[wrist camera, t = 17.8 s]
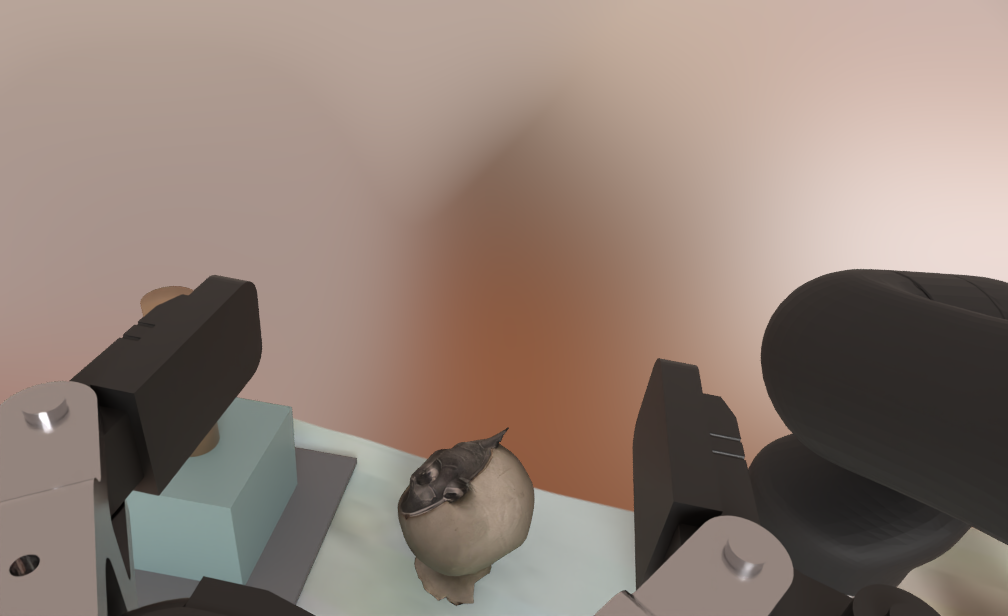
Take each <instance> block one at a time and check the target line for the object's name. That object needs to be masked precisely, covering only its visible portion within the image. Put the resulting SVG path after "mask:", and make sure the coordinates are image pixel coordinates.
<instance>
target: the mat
mask: <svg viewBox="0 0 1008 616" xmlns="http://www.w3.org/2000/svg"><path fill="white" fill-rule="evenodd" d="M295 456H296V470H297V483H298V484H297V486H296V488H295V490H294V492H293V494H292V496H291V497H290V499H289V501H288V503H287V505H286V507H285V509H284V511H283V513H282V515H281V517H280V519H279V521H278V523H277V525H276V527H275V528H274V530H273V532H272V534H271V536H270V538H269V540H268V542H267V544H266V546H265V548H264V550H263V552H262V554H261V556H260V558H259V560H258V561H257V563H256V565H255V567H254V569H253V571H252V573H251V575H250V577H249V579H248V581H247V583H246V586H251V587H255V588H260V589H264V590H268V591H270V592H272V593H274V594H276V595H278V596H280V597H282V598H283V599H285V600H287V601H289V602H291V603H293V604H295V605H296V603H297V600H298V598H299V596H300V593H301V591H302V589H303V587H304V584H305V582H306V580H307V577H308V575H309V573H310V570H311V568H312V566H313V563H314V561H315V559H316V556H317V554H318V552H319V549H320V547H321V545H322V542H323V540H324V538H325V536H326V533H327V531H328V529H329V526H330V524H331V522H332V519H333V517H334V515H335V512H336V510H337V508H338V505H339V503H340V501H341V498H342V496H343V494H344V492H345V489H346V487H347V485H348V482H349V480H350V478H351V475H352V473H353V471H354V468H355V466H356V464H357V458H352V457H346V456H341V455H335V454H330V453H324V452H319V451H313V450H307V449H302V448H296V447H295ZM134 570H135V581H136V592H137V600H138V606H139V608H140V607H143V606H145V605H149V604H153V603H157V602H161V601H165V600H172V599H178V598H190V597H191V595H192V593H193V592H194V590H195V589H196V587H197V585H198V584H199V582H200V581H198V580H193V579H187V578H182V577H176V576H171V575H166V574H160V573H155V572H150V571H144V570H139V569H134Z"/></svg>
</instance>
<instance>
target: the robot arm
mask: <svg viewBox="0 0 1008 616" xmlns="http://www.w3.org/2000/svg"><path fill="white" fill-rule="evenodd" d="M261 353H262V339H261V329H260V319H259V308H258V298H257V290H256V287H255V285H254V284H253V283H252V282H249V281H244V280H239V279H233V278H228V277H223V276H217V275H212V276H210V277H209V278H208V279H206V280H205V281H204V282H203V283H202V284H201V285H200V286H199V287H197V288H196V289H195V290H194V291H193V292H192V293H191V294H190V295H184V294H181V295H179V296H177V297H175V298H173V299H170V300H168V301H166V302H164V303H162V304H159V305H157V306H156V307H154V308H153V309H152V310H151V311H150V312H149V313H147V314H146V315H145V316H144V317H143V318H142V319H140V320H139V321H138V325H134V326H132V327H131V328H130V329H129V330H128V331H127V332H125V333H124V335H123V338H119V339H117V340H116V341H115V342H114V343H113V344H112V345H110V346H109V347H108V348H107V349H106V350H105V351H103V352H102V353H101V354H100V355H99V356H98V357H96V358H95V359H94V360H93V361H92V362H91V363H89V364H88V365H87V366H86V367H85V368H84V369H83V370H81V371H80V372H79V373H78V374H77V375H76V376H74V377H73V378H72V379H71V380H70V381H54V382H47V383H43V384H39V385H35V386H32V387H29V388H27V389H25V390H22V391H20V392H18V393H16V394H14V395H13V396H11V397H9V398H8V399H6V400H5V401H4V402H3V403H2V404H0V616H315V615H313V614H311V613H309V612H308V611H306V610H304V609H302V608H300V607H298V606H296V605H295V604H293V603H291V602H289V601H287V600H285V599H283V598H282V597H280V596H278V595H276V594H274V593H272V592H270V591H268V590H264V589H260V588H255V587H251V586H246V585H242V584H237V583H233V582H228V581H223V580H219V579H214V578H210V577H205V576H203V577H202V579H201V581H200V582H199V584H198V585H197V587H196V589H195V590H194V592H193V593H192V595H191V597H190V598H178V599H172V600H165V601H161V602H157V603H153V604H149V605H145V606H143V607H140V608H139V606H138V600H137V592H136V581H135V570H134V558H133V547H132V535H131V524H130V512H129V508H128V505H127V501H126V498H127V497H128V496H129V495H130V493H131V492H132V491H138V492H142V493H147V494H152V495H156V496H159V495H160V494H161V493H162V492H163V490H164V489H165V488H166V486H167V485H168V484H169V483H170V481H171V480H172V479H173V478H174V476H175V475H176V474H177V472H178V471H179V470H180V469H181V467H182V466H183V465H184V463H185V462H186V461H187V460H188V458H189V457H190V456H191V454H192V453H193V452H194V451H195V449H196V448H197V447H198V445H199V444H200V443H201V442H202V440H203V439H204V438H205V437H206V435H207V434H208V433H209V431H210V430H211V429H212V428H213V426H214V425H215V424H216V422H217V421H218V420H219V419H220V417H221V416H222V415H223V413H224V412H225V411H226V410H227V408H228V407H229V406H230V405H231V403H232V402H233V401H234V399H235V398H236V397H237V395H238V394H239V393H240V392H241V390H242V389H243V388H244V387H245V385H246V384H247V382H248V381H249V380H250V379H251V378H252V376H253V375H254V373H255V372H256V370H257V367H258V365H259V362H260V359H261ZM761 366H762V373H763V379H764V382H765V386H766V389H767V392H768V395H769V397H770V399H771V401H772V403H773V406H774V408H775V410H776V411H777V413H778V414H779V416H780V417H781V419H782V420H783V422H784V423H785V425H786V426H787V427H788V429H789V430H790V431H791V432H792V433H793V434H790V435H787V436H784V437H782V438H779V439H777V440H775V441H773V442H771V443H770V444H768V445H767V446H765V447H764V448H763V449H762V450H761V451H760V452H759V453H758V454H757V456H756V457H755V458H754V460H753V462H752V463H751V465H750V467H749V469H748V468H747V464H746V460H744V457H745V454H744V450H743V446H742V443H741V442H740V439H741V437H740V433H739V428H738V424H737V420H736V417H735V415H734V414H733V413H732V411H731V410H730V409H729V407H728V406H727V405H726V403H725V402H724V401H723V399H722V398H721V397H719V396H714V395H709V394H703V393H702V387H701V380H700V375H699V369H698V367H697V366H696V365H691V364H686V363H680V362H675V361H670V360H665V359H660V358H659V359H657V360H656V362H655V365H654V367H653V371H652V374H651V376H650V380H649V383H648V386H647V389H646V392H645V395H644V399H643V402H642V405H641V408H640V411H639V414H638V418H637V421H636V427H635V431H634V438H633V478H634V479H633V482H634V523H635V564H636V591H635V592H634V593H633V594H630V593H629V592H628V591H626V590H624V591H621V592H619V593H618V594H617V595H615V596H614V597H613V598H612V599H611V600H610V601H608V602H607V603H606V604H605V605H604V606H603V607H602V608H601V609H600V610H599V611H598V612H597V613H596V614H595V615H594V616H940V615H939V614H938V613H937V612H936V611H935V610H934V609H933V608H932V607H931V606H929V605H928V604H927V603H925V602H924V601H922V600H921V599H920V598H918V597H916V596H914V595H913V594H911V593H909V592H907V591H905V590H902V589H900V588H897V587H898V585H899V584H900V583H901V582H902V580H903V579H904V578H905V576H906V575H907V574H908V573H909V572H910V571H911V570H912V569H914V568H916V567H919V566H921V565H923V564H925V563H928V562H930V561H932V560H934V559H936V558H937V557H939V556H941V555H942V554H944V553H945V552H946V551H948V550H949V549H950V548H951V547H953V546H954V545H955V544H956V543H957V542H958V541H959V540H960V539H961V537H962V536H963V535H964V534H965V533H966V532H967V531H968V530H969V529H970V528H971V526H972V527H974V528H976V529H978V530H980V531H982V532H984V533H986V534H987V535H989V536H991V537H993V538H995V539H997V540H999V541H1001V542H1003V543H1005V544H1007V545H1008V283H1006V282H1003V281H999V280H995V279H990V278H986V277H977V276H967V275H954V274H940V273H925V272H910V271H894V270H872V269H852V270H845V271H839V272H834V273H829V274H826V275H823V276H820V277H818V278H815V279H813V280H811V281H809V282H807V283H805V284H803V285H802V286H800V287H798V288H797V289H796V290H794V291H793V292H792V293H791V294H790V295H789V296H788V297H787V298H786V299H785V300H784V301H783V302H782V303H781V304H780V305H779V307H778V308H777V309H776V311H775V312H774V314H773V315H772V317H771V319H770V321H769V323H768V325H767V328H766V330H765V333H764V337H763V341H762V347H761Z"/></svg>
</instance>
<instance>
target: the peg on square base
mask: <svg viewBox="0 0 1008 616" xmlns="http://www.w3.org/2000/svg"><path fill="white" fill-rule="evenodd" d="M192 292H193V290H192V289H189V288H186V287H181V286H169V287H163V288H159V289H155V290H153V291H151V292H149V293H147V294H146V295H145V296H144V297H143V298H142V299H141V303H140V304H141V309H142V313H143V317H144V316H145V315H146V314H147V313H149V312H150V311H151V310H152V309H153V308H154V307H156V306H157V305H159V304H162V303H164V302H166V301H168V300H170V299H173V298H175V297H177V296H179V295H181V294H184V295H190V294H191V293H192ZM297 484H298V483H297V470H296V456H295V443H294V429H293V416H292V407H289V406H282V405H277V404H271V403H266V402H260V401H254V400H249V399H243V398H238V397H236V398H235V399H234V401H233V402H232V403H231V405H230V406H229V407H228V408H227V410H226V411H225V412H224V413H223V415H222V416H221V417H220V419H219V420H218V421H217V422H216V424H215V425H214V426H213V428H212V429H211V430H210V431H209V433H208V434H207V435H206V437H205V438H204V439H203V440H202V442H201V443H200V444H199V445H198V447H197V448H196V449H195V451H194V452H193V453H192V454H191V456H190V457H189V458H188V460H187V461H186V462H185V463H184V465H183V466H182V467H181V469H180V470H179V471H178V472H177V474H176V475H175V476H174V478H173V479H172V480H171V481H170V483H169V484H168V485H167V486H166V488H165V489H164V490H163V492H162V493H161V494H160V495H159V496H156V495H152V494H147V493H142V492H138V491H132V492H131V493H130V495H129V496H128V497H127V498H126V501H127V505H128V508H129V512H130V524H131V535H132V547H133V558H134V569H139V570H144V571H150V572H155V573H160V574H166V575H171V576H176V577H182V578H187V579H193V580H198V581H201V579H202V577H203V576H205V577H210V578H214V579H219V580H223V581H228V582H233V583H237V584H242V585H246V583H247V581H248V579H249V577H250V575H251V573H252V571H253V569H254V567H255V565H256V563H257V561H258V560H259V558H260V556H261V554H262V552H263V550H264V548H265V546H266V544H267V542H268V540H269V538H270V536H271V534H272V532H273V530H274V528H275V527H276V525H277V523H278V521H279V519H280V517H281V515H282V513H283V511H284V509H285V507H286V505H287V503H288V501H289V499H290V497H291V496H292V494H293V492H294V490H295V488H296V486H297Z"/></svg>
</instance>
